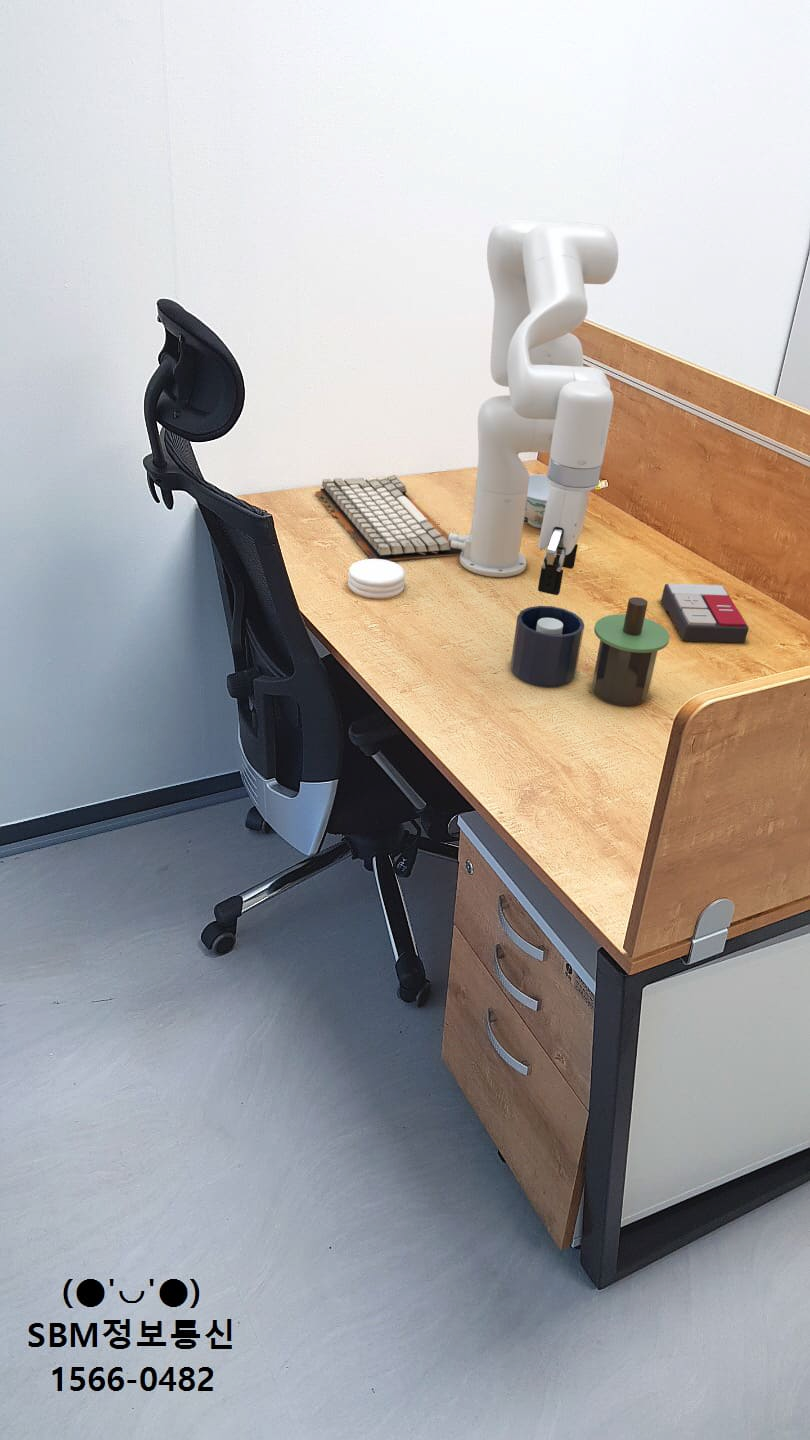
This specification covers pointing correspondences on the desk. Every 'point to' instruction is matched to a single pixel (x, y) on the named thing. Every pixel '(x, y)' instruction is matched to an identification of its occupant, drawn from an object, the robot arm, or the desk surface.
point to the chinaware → (537, 499)
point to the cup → (622, 676)
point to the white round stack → (376, 578)
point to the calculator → (704, 613)
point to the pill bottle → (549, 626)
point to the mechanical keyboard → (384, 519)
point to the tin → (546, 648)
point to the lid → (632, 630)
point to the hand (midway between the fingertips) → (556, 579)
